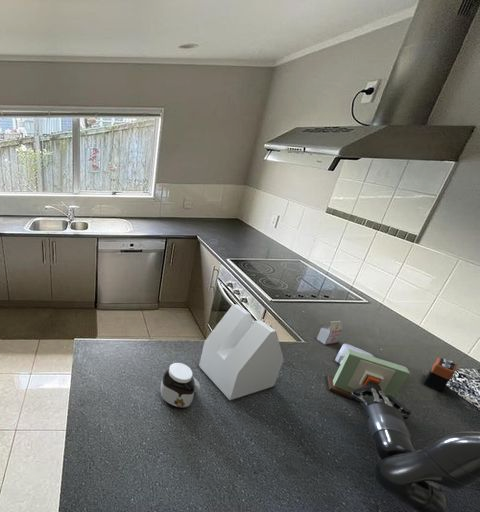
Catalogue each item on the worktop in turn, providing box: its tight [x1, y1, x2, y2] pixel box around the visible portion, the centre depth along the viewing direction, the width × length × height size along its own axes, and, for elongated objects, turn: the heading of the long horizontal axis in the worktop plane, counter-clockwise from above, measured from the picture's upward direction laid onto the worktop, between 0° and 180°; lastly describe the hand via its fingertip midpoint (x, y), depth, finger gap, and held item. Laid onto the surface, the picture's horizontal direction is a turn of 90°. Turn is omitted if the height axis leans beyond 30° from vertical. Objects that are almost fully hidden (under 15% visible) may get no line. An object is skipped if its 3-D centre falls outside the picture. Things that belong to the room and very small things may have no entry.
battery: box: [423, 357, 458, 392], centre depth 98 cm, size 4×7×10 cm, turn 124°
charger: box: [334, 343, 375, 366], centre depth 105 cm, size 5×9×15 cm
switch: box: [364, 375, 380, 387], centre depth 87 cm, size 3×2×4 cm
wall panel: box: [326, 349, 411, 404], centre depth 91 cm, size 16×8×15 cm, turn 57°
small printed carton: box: [316, 320, 343, 346], centre depth 118 cm, size 4×7×10 cm, turn 103°
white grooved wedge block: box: [198, 303, 285, 401], centre depth 95 cm, size 19×15×25 cm
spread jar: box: [160, 362, 201, 409], centre depth 89 cm, size 12×11×12 cm
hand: (372, 384), depth 87 cm, fingers closed
